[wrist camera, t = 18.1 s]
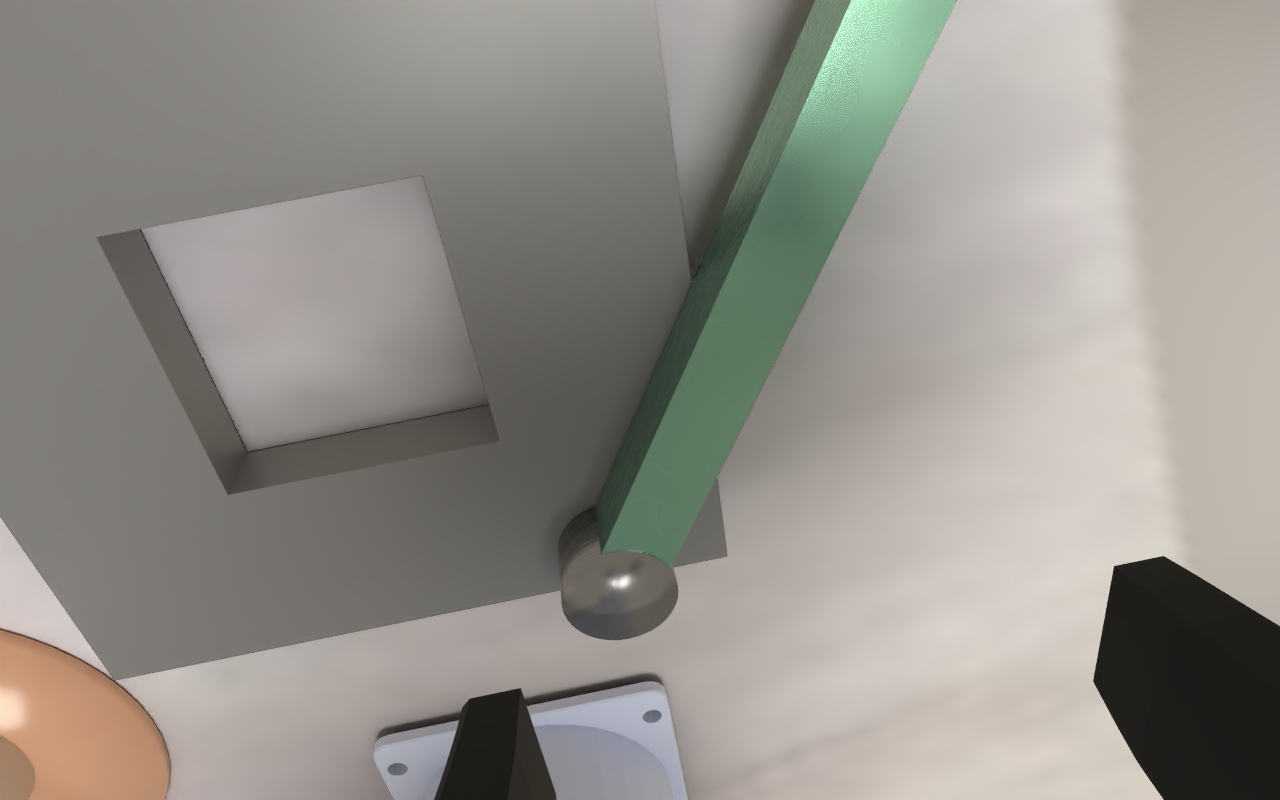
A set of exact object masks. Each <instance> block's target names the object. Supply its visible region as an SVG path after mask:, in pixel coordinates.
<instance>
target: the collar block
mask: <svg viewBox="0 0 1280 800" xmlns="http://www.w3.org/2000/svg"><path fill="white" fill-rule="evenodd" d="M422 175H423V177H424V181H425V184H426V188H427V191H428V195H429V198H430V202H431V205H432V209H433V212H434V215H435V219H436V222H437V226H438V229H439V233H440V236H441V240H442V243H443V247H444V250H445V253H446V257H447V260H448V264H449V267H450V271H451V274H452V278H453V281H454V285H455V288H456V291H457V295H458V298H459V302H460V305H461V309H462V312H463V316H464V319H465V323H466V326H467V330H468V333H469V336H470V340H471V343H472V347H473V350H474V354H475V357H476V361H477V364H478V368H479V371H480V374H481V378H482V381H483V385H484V388H485V392H486V395H487V399H488V402H489V405H487V406H482V407H476V408H471V409H466V410H461V411H456V412H451V413H446V414H441V415H436V416H431V417H426V418H421V419H415V420H410V421H405V422H400V423H395V424H390V425H385V426H380V427H375V428H370V429H365V430H360V431H354V432H349V433H344V434H339V435H334V436H329V437H324V438H319V439H314V440H309V441H304V442H299V443H293V444H288V445H283V446H278V447H273V448H268V449H263V450H258V451H253V452H248V453H247V451H246V449H245V447H244V445H243V443H242V441H241V439H240V437H239V435H238V433H237V431H236V429H235V426H234V424H233V422H232V420H231V418H230V416H229V414H228V412H227V410H226V408H225V406H224V404H223V401H222V399H221V397H220V395H219V393H218V391H217V389H216V387H215V385H214V383H213V381H212V379H211V377H210V374H209V372H208V370H207V368H206V366H205V364H204V362H203V360H202V358H201V356H200V354H199V352H198V349H197V347H196V345H195V343H194V341H193V339H192V337H191V335H190V333H189V331H188V329H187V327H186V325H185V322H184V320H183V318H182V316H181V314H180V312H179V310H178V308H177V306H176V304H175V302H174V300H173V297H172V295H171V293H170V291H169V289H168V287H167V285H166V283H165V281H164V279H163V277H162V275H161V272H160V270H159V268H158V266H157V264H156V262H155V260H154V258H153V256H152V254H151V252H150V250H149V248H148V245H147V243H146V241H145V239H144V237H143V235H142V233H141V231H140V229H142V228H147V227H153V226H158V225H163V224H168V223H174V222H179V221H184V220H190V219H195V218H200V217H205V216H211V215H216V214H221V213H227V212H232V211H237V210H242V209H248V208H253V207H258V206H264V205H269V204H274V203H279V202H285V201H290V200H295V199H301V198H306V197H311V196H316V195H322V194H327V193H332V192H338V191H343V190H348V189H353V188H359V187H364V186H369V185H375V184H380V183H385V182H390V181H396V180H401V179H406V178H412V177H417V176H422ZM691 285H692V283H691V276H690V268H689V261H688V253H687V246H686V238H685V230H684V223H683V215H682V208H681V200H680V193H679V185H678V177H677V170H676V162H675V155H674V147H673V140H672V132H671V124H670V117H669V109H668V102H667V94H666V87H665V79H664V71H663V64H662V56H661V49H660V41H659V34H658V26H657V18H656V11H655V3H654V0H0V517H1V519H2V520H3V522H4V523H5V524H6V526H7V527H8V529H9V530H10V532H11V533H12V534H13V536H14V537H15V539H16V540H17V542H18V543H19V545H20V546H21V547H22V549H23V550H24V552H25V553H26V555H27V556H28V557H29V559H30V560H31V562H32V563H33V565H34V566H35V567H36V569H37V570H38V572H39V573H40V575H41V576H42V577H43V579H44V580H45V582H46V583H47V585H48V586H49V587H50V589H51V590H52V592H53V593H54V595H55V596H56V597H57V599H58V600H59V602H60V603H61V605H62V606H63V608H64V609H65V610H66V612H67V613H68V615H69V616H70V618H71V619H72V620H73V622H74V623H75V625H76V626H77V628H78V629H79V630H80V632H81V633H82V635H83V636H84V638H85V639H86V640H87V642H88V643H89V645H90V646H91V648H92V649H93V650H94V652H95V653H96V655H97V656H98V658H99V659H100V660H101V662H102V663H103V665H104V666H105V668H106V669H107V671H108V672H109V673H110V675H111V676H112V678H113V679H114V681H116V680H121V679H125V678H130V677H135V676H140V675H145V674H150V673H155V672H160V671H165V670H170V669H175V668H180V667H185V666H190V665H194V664H199V663H204V662H209V661H214V660H219V659H224V658H229V657H234V656H239V655H244V654H249V653H254V652H259V651H263V650H268V649H273V648H278V647H283V646H288V645H293V644H298V643H303V642H308V641H313V640H318V639H323V638H328V637H332V636H337V635H342V634H347V633H352V632H357V631H362V630H367V629H372V628H377V627H382V626H387V625H392V624H397V623H401V622H406V621H411V620H416V619H421V618H426V617H431V616H436V615H441V614H446V613H451V612H456V611H461V610H466V609H470V608H475V607H480V606H485V605H490V604H495V603H500V602H505V601H510V600H515V599H520V598H525V597H530V596H535V595H539V594H544V593H549V592H554V591H559V590H561V586H560V572H559V557H558V544H559V540H560V537H561V534H562V532H563V530H564V529H565V528H566V526H567V525H568V524H569V523H570V522H571V521H572V520H573V519H574V518H575V517H576V516H578V515H579V514H581V513H582V512H584V511H586V510H588V509H590V508H593V507H596V505H597V502H598V500H599V498H600V495H601V493H602V491H603V489H604V486H605V484H606V482H607V479H608V477H609V475H610V472H611V470H612V468H613V465H614V463H615V461H616V459H617V456H618V454H619V452H620V449H621V447H622V445H623V442H624V440H625V438H626V435H627V433H628V431H629V429H630V426H631V424H632V422H633V419H634V417H635V415H636V412H637V410H638V408H639V405H640V403H641V401H642V399H643V396H644V394H645V392H646V389H647V387H648V385H649V382H650V380H651V378H652V375H653V373H654V371H655V369H656V366H657V364H658V362H659V359H660V357H661V355H662V352H663V350H664V348H665V345H666V343H667V341H668V339H669V336H670V334H671V332H672V329H673V327H674V325H675V322H676V320H677V318H678V315H679V313H680V311H681V309H682V306H683V304H684V302H685V299H686V297H687V295H688V292H689V290H690V288H691ZM722 557H727V549H726V541H725V533H724V526H723V518H722V511H721V503H720V496H719V488H718V480H717V478H716V480H715V482H714V484H713V486H712V488H711V490H710V492H709V494H708V496H707V498H706V500H705V502H704V504H703V506H702V508H701V510H700V512H699V514H698V516H697V518H696V520H695V522H694V524H693V526H692V528H691V530H690V532H689V534H688V536H687V538H686V540H685V542H684V544H683V546H682V548H681V549H680V551H679V553H678V555H677V557H676V559H675V561H674V563H673V567H677V566H682V565H687V564H692V563H697V562H702V561H707V560H712V559H717V558H722Z"/></svg>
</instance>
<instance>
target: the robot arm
mask: <svg viewBox="0 0 1280 800" xmlns="http://www.w3.org/2000/svg"><path fill="white" fill-rule="evenodd" d="M1093 682H1094V684H1095V685H1096V687H1097V689H1098V691H1099V693H1100V695H1101V697H1102V699H1103V701H1104V702H1105V704H1106V706H1107V708H1108V710H1109V712H1110V714H1111V716H1112V717H1113V719H1114V721H1115V723H1116V725H1117V727H1118V729H1119V730H1120V732H1121V734H1122V736H1123V737H1124V739H1125V741H1126V743H1127V744H1128V746H1129V748H1130V750H1131V751H1132V753H1133V755H1134V757H1135V758H1136V760H1137V762H1138V763H1139V765H1140V766H1141V768H1142V769H1143V771H1144V772H1145V773H1146V775H1147V776H1148V778H1149V779H1150V781H1151V782H1152V784H1153V785H1154V786H1155V788H1156V789H1157V791H1158V792H1159V794H1160V795H1161V796H1162V798H1163V799H1164V800H1280V626H1278V625H1277V624H1275V623H1273V622H1272V621H1270V620H1269V619H1267V618H1265V617H1264V616H1262V615H1260V614H1259V613H1257V612H1255V611H1254V610H1252V609H1251V608H1249V607H1247V606H1246V605H1244V604H1242V603H1241V602H1239V601H1237V600H1236V599H1234V598H1233V597H1231V596H1229V595H1228V594H1226V593H1225V592H1223V591H1221V590H1220V589H1218V588H1216V587H1215V586H1213V585H1211V584H1210V583H1208V582H1207V581H1205V580H1203V579H1202V578H1200V577H1198V576H1197V575H1195V574H1193V573H1192V572H1190V571H1188V570H1187V569H1185V568H1183V567H1181V566H1180V565H1178V564H1176V563H1175V562H1173V561H1171V560H1169V559H1168V558H1166V557H1164V556H1162V557H1157V558H1152V559H1147V560H1142V561H1137V562H1132V563H1127V564H1123V565H1118V566H1114V570H1113V575H1112V581H1111V586H1110V592H1109V597H1108V603H1107V608H1106V614H1105V619H1104V625H1103V630H1102V636H1101V641H1100V647H1099V652H1098V658H1097V663H1096V669H1095V674H1094V680H1093ZM650 710H653V711H650ZM373 758H374V761H375V763H376V765H377V767H378V769H379V771H380V773H381V775H382V777H383V779H384V781H385V783H386V785H387V787H388V789H389V791H390V793H391V795H392V797H393V799H394V800H688V796H687V791H686V787H685V782H684V777H683V772H682V767H681V762H680V757H679V752H678V747H677V742H676V738H675V733H674V728H673V723H672V718H671V713H670V708H669V703H668V698H667V693H666V690H665V688H664V686H663V685H661V684H660V683H657V682H653V681H647V682H641V683H636V684H631V685H626V686H622V687H617V688H612V689H607V690H602V691H597V692H592V693H588V694H583V695H578V696H573V697H568V698H563V699H559V700H554V701H549V702H544V703H539V704H534V705H529V706H526V703H525V700H524V697H523V694H522V691H521V688H520V689H515V690H510V691H505V692H500V693H495V694H491V695H486V696H481V697H476V698H471V699H469V700H468V702H467V703H466V704H465V705H464V706H463V708H462V712H461V715H460V719H459V720H457V721H452V722H447V723H442V724H437V725H432V726H428V727H423V728H418V729H413V730H408V731H403V732H399V733H394V734H389V735H386V736H383V737H381V738H380V739H379V740H377V741H376V743H375V746H374V752H373Z"/></svg>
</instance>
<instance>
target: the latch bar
mask: <svg viewBox="0 0 1280 800" xmlns="http://www.w3.org/2000/svg"><path fill="white" fill-rule="evenodd" d="M956 1H957V0H815V2H814V4H813V6H812V9H811V11H810V13H809V15H808V18H807V20H806V22H805V25H804V27H803V29H802V32H801V34H800V36H799V39H798V41H797V43H796V45H795V48H794V50H793V52H792V55H791V57H790V59H789V62H788V64H787V66H786V69H785V71H784V73H783V75H782V78H781V80H780V82H779V85H778V87H777V89H776V92H775V94H774V96H773V99H772V101H771V103H770V105H769V108H768V110H767V112H766V115H765V117H764V119H763V122H762V124H761V126H760V129H759V131H758V133H757V135H756V138H755V140H754V142H753V145H752V147H751V149H750V152H749V154H748V156H747V159H746V161H745V163H744V165H743V168H742V170H741V172H740V175H739V177H738V179H737V182H736V184H735V186H734V189H733V191H732V193H731V195H730V198H729V200H728V202H727V205H726V207H725V209H724V212H723V214H722V216H721V219H720V221H719V223H718V225H717V228H716V230H715V232H714V235H713V237H712V239H711V242H710V244H709V246H708V249H707V251H706V253H705V255H704V258H703V260H702V262H701V265H700V267H699V269H698V272H697V274H696V276H695V279H694V281H693V283H692V285H691V288H690V290H689V292H688V295H687V297H686V299H685V302H684V304H683V306H682V309H681V311H680V313H679V315H678V318H677V320H676V322H675V325H674V327H673V329H672V332H671V334H670V336H669V339H668V341H667V343H666V345H665V348H664V350H663V352H662V355H661V357H660V359H659V362H658V364H657V366H656V369H655V371H654V373H653V375H652V378H651V380H650V382H649V385H648V387H647V389H646V392H645V394H644V396H643V399H642V401H641V403H640V405H639V408H638V410H637V412H636V415H635V417H634V419H633V422H632V424H631V426H630V429H629V431H628V433H627V435H626V438H625V440H624V442H623V445H622V447H621V449H620V452H619V454H618V456H617V459H616V461H615V463H614V465H613V468H612V470H611V472H610V475H609V477H608V479H607V482H606V484H605V486H604V489H603V491H602V493H601V495H600V498H599V500H598V502H597V505H596V507H593V508H590V509H588V510H586V511H584V512H582V513H581V514H579V515H578V516H576V517H575V518H574V519H573V520H572V521H571V522H570V523H569V524H568V525H567V526H566V528H565V529H564V530H563V532H562V534H561V537H560V540H559V544H558V557H559V572H560V586H561V601H562V608H563V612H564V614H565V616H566V618H567V620H568V621H569V622H570V623H571V624H572V625H573V626H574V627H575V628H576V629H578V630H579V631H581V632H582V633H584V634H586V635H589V636H592V637H595V638H599V639H606V640H623V639H629V638H633V637H637V636H640V635H642V634H645V633H647V632H649V631H651V630H653V629H654V628H656V627H657V626H659V625H660V624H661V623H662V622H664V621H665V620H666V619H667V617H668V616H669V615H670V614H671V612H672V611H673V609H674V607H675V605H676V602H677V598H678V585H677V581H676V577H675V573H674V568H673V563H674V561H675V559H676V557H677V555H678V553H679V551H680V549H681V548H682V546H683V544H684V542H685V540H686V538H687V536H688V534H689V532H690V530H691V528H692V526H693V524H694V522H695V520H696V518H697V516H698V514H699V512H700V510H701V508H702V506H703V504H704V502H705V500H706V498H707V496H708V494H709V492H710V490H711V488H712V486H713V484H714V482H715V480H716V478H717V476H718V474H719V472H720V470H721V468H722V466H723V464H724V462H725V460H726V458H727V456H728V454H729V452H730V450H731V448H732V446H733V444H734V442H735V440H736V438H737V436H738V434H739V432H740V430H741V428H742V426H743V424H744V422H745V420H746V418H747V416H748V414H749V412H750V410H751V408H752V406H753V405H754V403H755V401H756V399H757V397H758V395H759V393H760V391H761V389H762V387H763V385H764V383H765V381H766V379H767V377H768V375H769V373H770V371H771V369H772V367H773V365H774V363H775V361H776V359H777V357H778V355H779V353H780V351H781V349H782V347H783V345H784V343H785V341H786V339H787V337H788V335H789V333H790V331H791V329H792V327H793V325H794V323H795V321H796V319H797V317H798V315H799V313H800V311H801V309H802V307H803V305H804V303H805V301H806V299H807V297H808V295H809V293H810V291H811V289H812V287H813V285H814V283H815V281H816V279H817V277H818V275H819V273H820V271H821V269H822V267H823V265H824V264H825V262H826V260H827V258H828V256H829V254H830V252H831V250H832V248H833V246H834V244H835V242H836V240H837V238H838V236H839V234H840V232H841V230H842V228H843V226H844V224H845V222H846V220H847V218H848V216H849V214H850V212H851V210H852V208H853V206H854V204H855V202H856V200H857V198H858V196H859V194H860V192H861V190H862V188H863V186H864V184H865V182H866V180H867V178H868V176H869V174H870V172H871V170H872V168H873V166H874V164H875V162H876V160H877V158H878V156H879V154H880V152H881V150H882V148H883V146H884V144H885V142H886V140H887V138H888V136H889V134H890V132H891V130H892V128H893V126H894V124H895V123H896V121H897V119H898V117H899V115H900V113H901V111H902V109H903V107H904V105H905V103H906V101H907V99H908V97H909V95H910V93H911V91H912V89H913V87H914V85H915V83H916V81H917V79H918V77H919V75H920V73H921V71H922V69H923V67H924V65H925V63H926V61H927V59H928V57H929V55H930V53H931V51H932V49H933V47H934V45H935V43H936V41H937V39H938V37H939V35H940V33H941V31H942V29H943V27H944V25H945V23H946V21H947V19H948V17H949V15H950V13H951V11H952V9H953V7H954V5H955V3H956Z"/></svg>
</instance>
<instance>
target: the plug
mask: <svg viewBox="0 0 1280 800" xmlns="http://www.w3.org/2000/svg"><path fill="white" fill-rule="evenodd" d="M35 780H36V776H35V771H34V768H33V765H32V763H31V762H30V760H29V758H28V757H27V756H26V755H25V753H24V752H23V751H22V750H21V749H20V748H19V747H17V746H16V745H15V744H14V743H12V742H11V741H9V740H8V739H7V738H5V737H3V736H1V735H0V800H28V799H29V797H30V795H31V793H32V792H33V790H34V786H35Z"/></svg>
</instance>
